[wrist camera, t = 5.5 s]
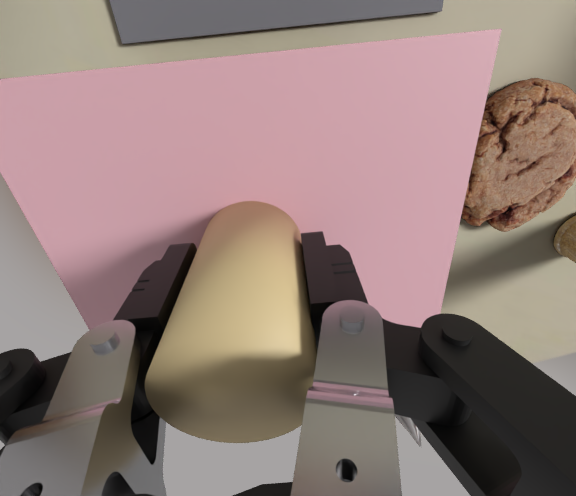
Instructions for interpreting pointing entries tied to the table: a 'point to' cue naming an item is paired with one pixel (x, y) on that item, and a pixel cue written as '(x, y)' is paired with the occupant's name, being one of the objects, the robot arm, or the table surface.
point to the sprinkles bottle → (567, 239)
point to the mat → (246, 15)
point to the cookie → (522, 154)
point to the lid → (250, 201)
